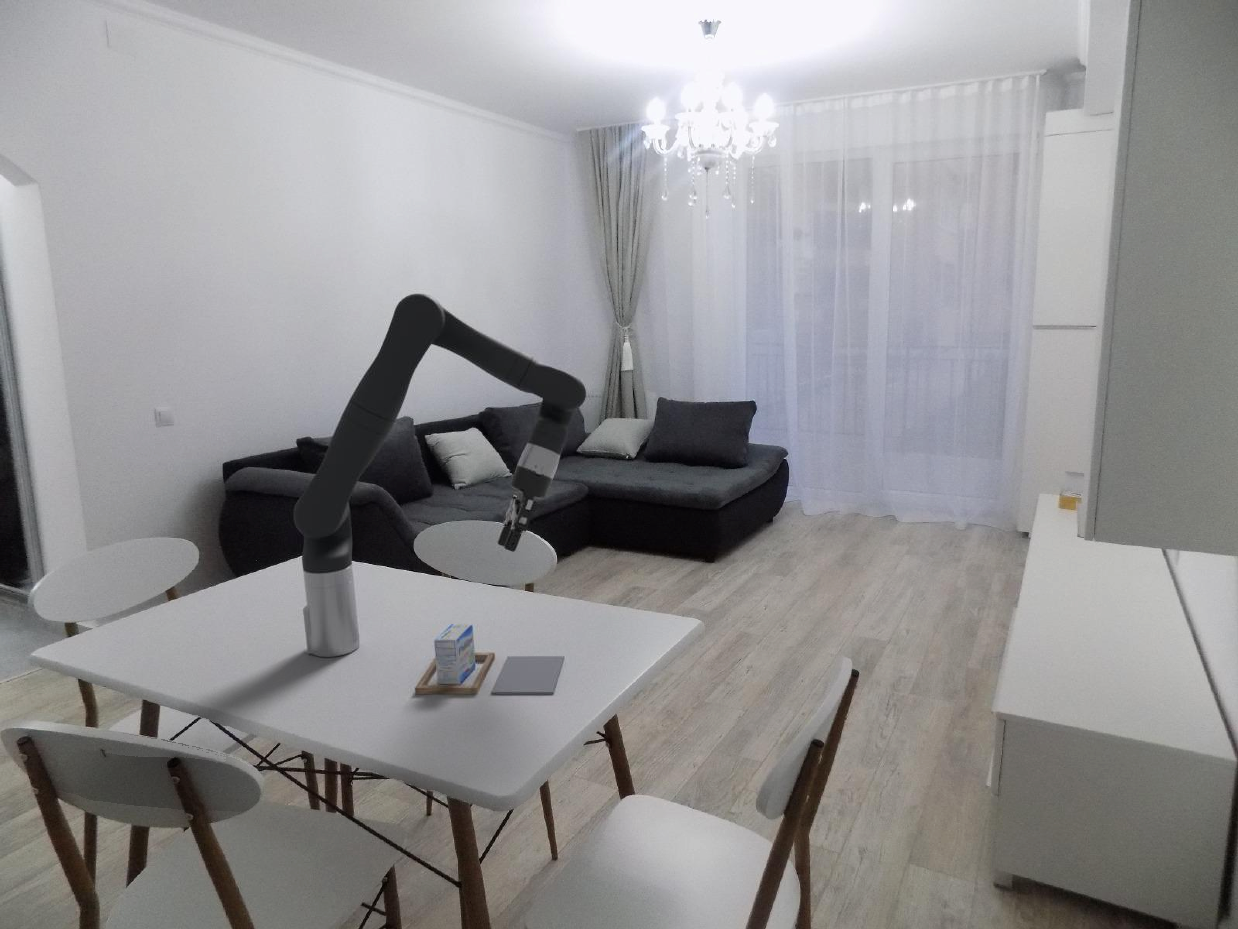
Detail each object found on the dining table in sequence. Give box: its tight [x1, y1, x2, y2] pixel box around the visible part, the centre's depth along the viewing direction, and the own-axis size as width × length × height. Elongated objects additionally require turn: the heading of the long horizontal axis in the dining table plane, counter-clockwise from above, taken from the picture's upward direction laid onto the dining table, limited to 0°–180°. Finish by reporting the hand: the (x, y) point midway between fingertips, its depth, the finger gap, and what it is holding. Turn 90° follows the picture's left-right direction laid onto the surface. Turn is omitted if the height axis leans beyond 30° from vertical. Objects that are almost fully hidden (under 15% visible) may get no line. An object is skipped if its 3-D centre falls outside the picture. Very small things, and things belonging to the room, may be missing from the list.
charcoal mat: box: [490, 655, 565, 695], centre depth 152 cm, size 11×15×1 cm
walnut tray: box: [414, 652, 496, 695], centre depth 152 cm, size 11×15×1 cm
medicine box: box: [433, 623, 476, 685], centre depth 152 cm, size 8×4×9 cm, turn 168°
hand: (505, 548), depth 162 cm, fingers open, 8 cm apart
